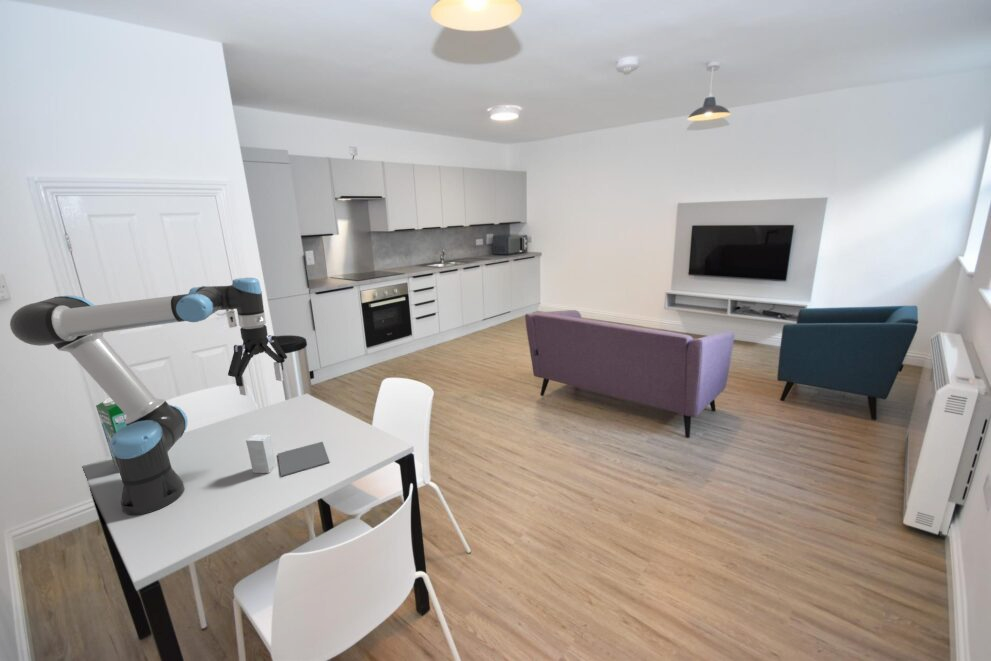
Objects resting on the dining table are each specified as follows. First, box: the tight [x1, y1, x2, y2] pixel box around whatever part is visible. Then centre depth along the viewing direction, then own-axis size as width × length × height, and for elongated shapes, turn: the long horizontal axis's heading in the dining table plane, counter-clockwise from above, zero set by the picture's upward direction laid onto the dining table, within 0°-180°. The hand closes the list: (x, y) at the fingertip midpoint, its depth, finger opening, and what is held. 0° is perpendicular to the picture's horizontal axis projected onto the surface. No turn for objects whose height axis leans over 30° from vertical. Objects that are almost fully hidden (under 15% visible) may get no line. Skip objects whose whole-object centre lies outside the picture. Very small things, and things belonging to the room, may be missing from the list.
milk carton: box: [95, 397, 127, 467], centre depth 150 cm, size 9×9×25 cm
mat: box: [277, 441, 331, 478], centre depth 150 cm, size 15×16×1 cm
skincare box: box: [245, 434, 277, 474], centre depth 143 cm, size 6×4×12 cm
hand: (262, 387), depth 146 cm, fingers open, 13 cm apart
